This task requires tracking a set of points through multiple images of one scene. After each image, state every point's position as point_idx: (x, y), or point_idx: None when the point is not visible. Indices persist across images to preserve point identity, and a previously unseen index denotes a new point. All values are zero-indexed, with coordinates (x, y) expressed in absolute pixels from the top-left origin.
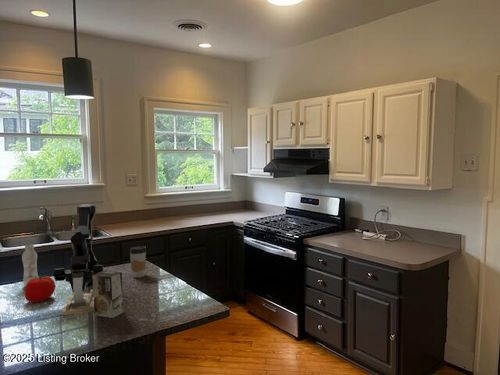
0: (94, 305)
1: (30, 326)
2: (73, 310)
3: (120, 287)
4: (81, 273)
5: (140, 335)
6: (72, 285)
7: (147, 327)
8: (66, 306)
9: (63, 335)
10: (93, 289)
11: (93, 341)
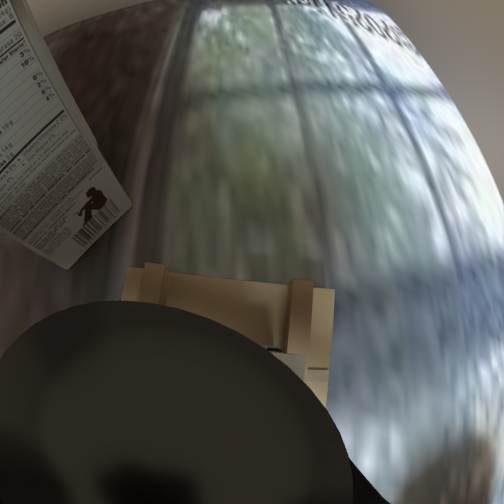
0: (111, 166)
1: (444, 208)
2: (256, 282)
3: None
4: (7, 363)
5: (71, 25)
6: None
7: None
8: (311, 300)
9: (282, 63)
10: (65, 84)
11: (186, 14)
